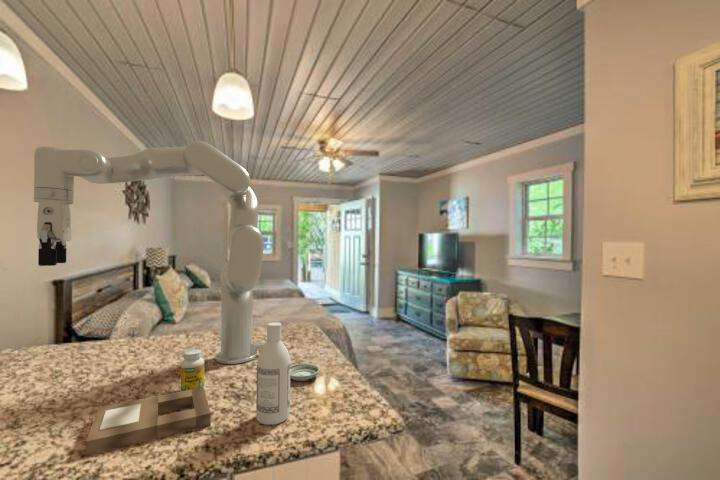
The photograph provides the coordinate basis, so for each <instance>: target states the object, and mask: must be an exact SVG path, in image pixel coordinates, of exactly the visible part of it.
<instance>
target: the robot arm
mask: <svg viewBox="0 0 720 480" xmlns="http://www.w3.org/2000/svg"><path fill="white" fill-rule="evenodd" d="M33 156H34V157H33V158H34V159H33V161H34V162H33V202H35V203H38V206H37V218H36V220H37V222H36V236H37V239H38V240H39V241H38V242H39V244H38V259H37V260H38V266H40V267H44V266H45V267H47V266H52V267H53V266H56V265H57V264H66V263H67V242H70V241H71V240H72V219H71V208H70V207H71V206H70V205H74V196H75V195H74V187H75V186H74V185H75V183H74V179H75V178H74V177H79V178H82V179H84V180H85V181H87V182H89V183H92V184H96V185H98V184H100V185H101V184H102V185H105V184H118V183H119V184H120V183H131V182H138V181H147V180H154V179H161V178H164V179H165V178H174V177H189V176H200V175H203V176H205V177H207V178H208V179H210V180H211V181H213V182H214V183H216V188H217V189H218V191H219V192H220V194H222V195H223V196H224V197H225V198H226V199H227V200H228V201H229V204H230V220H229V226H228V232H227V233H228V234H227V238H226V244H227V248H228V249H229V257H228V261H227V262H226V263H224V265H223V267H222V268H221V270H220V271H221V272H220V276H219V277H220V278H219V279H220V280H219V281H220V293H221V294H220V297H221V298H220V300H221V303H220V306H221V309H220V352H218V353H216V355H215V356H214V357H215V361H216V362H218V363H219V364H222V365H223V364H224V365H237V364H241V363H242V364H243V363H247V362H251V361H252V360H255V359H256V358H257V355H258V350H262V348H263V347H264V345H265V343H266V342H261V341H257V342H255V341H253V308H254V302H253V301H254V300H253V295H254V294H253V289H254V288H256V286H257V285H258V283H259V281H260V277H261V273H262V263H263V255H264V248H265V247H264V244H265V242H264V237H263V233H262V232H261V231H260V229H259V228H258V222H259V203H258V202H259V201H258V199H257V195H256V194H255V192H254V191H253V189H252V188H251V187H250V186H251V177H250V174H249V172H248V171H247V170H246V169H245V167H243V166H242V165H241V164H239V163H238V162H236V161H235V160H233V159H232V158H231V157H229V156H228V155H226V154H225V153H224V152H222V151H220V150H219V149H218V148H216V147H215V146H213V145H212V144H210V143H209V142H206V141H203V140H194V141H191V142H189V143H188V144H187V145H186V146H169V147H167V146H166V147H165V146H164V147H150V148H145V149H143V150H141V151H139V152H138V153H135V154H132V155H127V156H126V155H125V156H115V157H114V156H112V157H109V156H108V157H105V155H103V154H102V153H100V152H99V151H97V150H93V149H83V148H82V149H65V148H60V147H54V146H39V147H37V148H36V149H35V150H34V155H33Z"/></svg>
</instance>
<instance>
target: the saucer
mask: <svg viewBox="0 0 720 480" xmlns="http://www.w3.org/2000/svg"><path fill="white" fill-rule="evenodd" d="M320 371H321V368H320V367H319V366H318V365H315V364H313V363H312V364H311V363H298V364H292V365H290V380H291V379H292V380H294V381H295V382H296V381H297V382H307V381H310V380H311V379H314V378H315V377H316V376H317V375H318V374H319V373H320ZM309 379H310V380H309Z"/></svg>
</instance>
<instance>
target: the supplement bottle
mask: <svg viewBox="0 0 720 480" xmlns="http://www.w3.org/2000/svg"><path fill="white" fill-rule="evenodd" d="M201 387H204V388H205V359H204V358H203V357H202V350H201V349H189V350H185V351H184V352H183V360H182V361H181V363H180V392H181V391H186V390H191V389H196V388H201Z"/></svg>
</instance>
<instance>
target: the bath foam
mask: <svg viewBox="0 0 720 480" xmlns="http://www.w3.org/2000/svg"><path fill="white" fill-rule="evenodd" d="M266 326H267V327H266V330H267V331H266V342H264V343H265V345H264V347H263V348H262V349H260V352H259V354H258V357H257V361H256V395H255V396H256V401H255V402H256V406H255V407H256V408H255V409H256V411H255V412H256V414H255V417H256V420H257V421H258V423H260V424H262V425H267V426H273V425H279V424H281V423H283V422H285V421H286V420H287V419H288V418H289V417H290V413H291V378H290V366H291V357H290V354H289V353H290V352H289V351H288V348H287V347H286V345H285V344H284V342H283V341H282V323H281V322H269V323H267V325H266Z"/></svg>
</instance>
